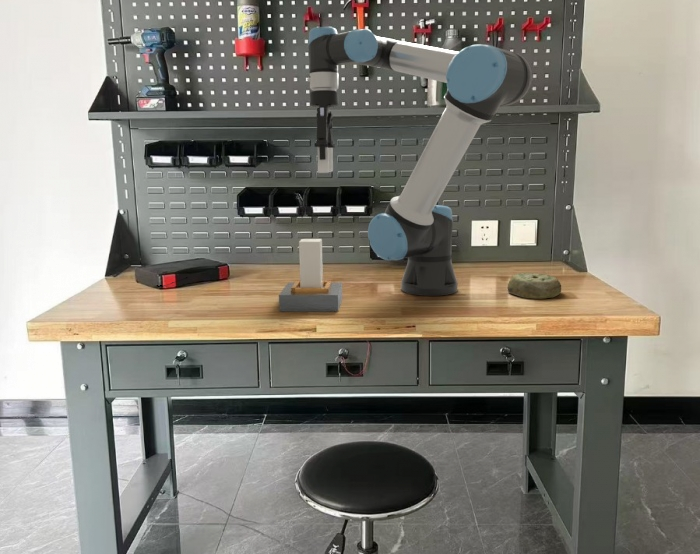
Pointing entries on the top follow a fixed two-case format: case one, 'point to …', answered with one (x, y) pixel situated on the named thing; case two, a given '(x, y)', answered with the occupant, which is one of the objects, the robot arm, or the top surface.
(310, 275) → the column
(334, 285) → the jig plate
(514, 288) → the weight
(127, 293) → the top surface
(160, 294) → the top surface
